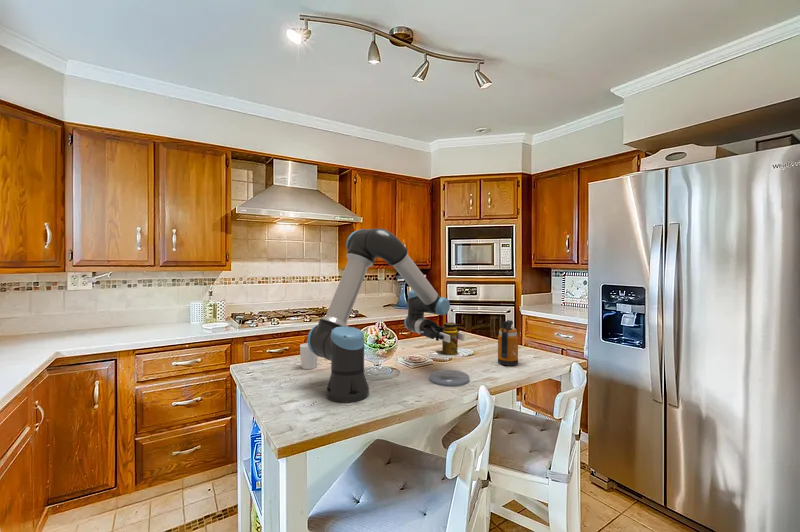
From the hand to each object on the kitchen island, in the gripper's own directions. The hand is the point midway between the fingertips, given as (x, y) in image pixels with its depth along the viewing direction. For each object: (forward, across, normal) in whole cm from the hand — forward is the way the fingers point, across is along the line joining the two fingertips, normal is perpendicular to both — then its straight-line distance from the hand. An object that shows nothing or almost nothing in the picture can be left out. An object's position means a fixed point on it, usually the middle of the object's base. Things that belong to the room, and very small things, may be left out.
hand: (456, 338), depth 146 cm
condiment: (-5, +1, -7) cm, 9 cm away
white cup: (-46, +47, -18) cm, 68 cm away
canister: (-11, -36, -18) cm, 42 cm away
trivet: (-5, 0, -18) cm, 18 cm away
